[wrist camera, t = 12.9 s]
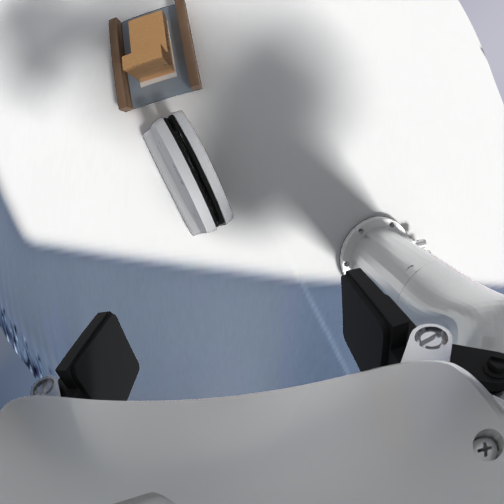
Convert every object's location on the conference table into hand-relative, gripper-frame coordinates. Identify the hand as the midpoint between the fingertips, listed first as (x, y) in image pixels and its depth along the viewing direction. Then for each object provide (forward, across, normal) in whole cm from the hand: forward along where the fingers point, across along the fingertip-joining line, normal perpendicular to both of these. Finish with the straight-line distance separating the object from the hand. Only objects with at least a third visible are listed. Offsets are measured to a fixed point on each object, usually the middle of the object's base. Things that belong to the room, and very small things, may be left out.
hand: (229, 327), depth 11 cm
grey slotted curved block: (+30, +6, -5) cm, 31 cm away
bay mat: (+30, +8, -25) cm, 39 cm away
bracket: (+29, +8, -25) cm, 40 cm away
